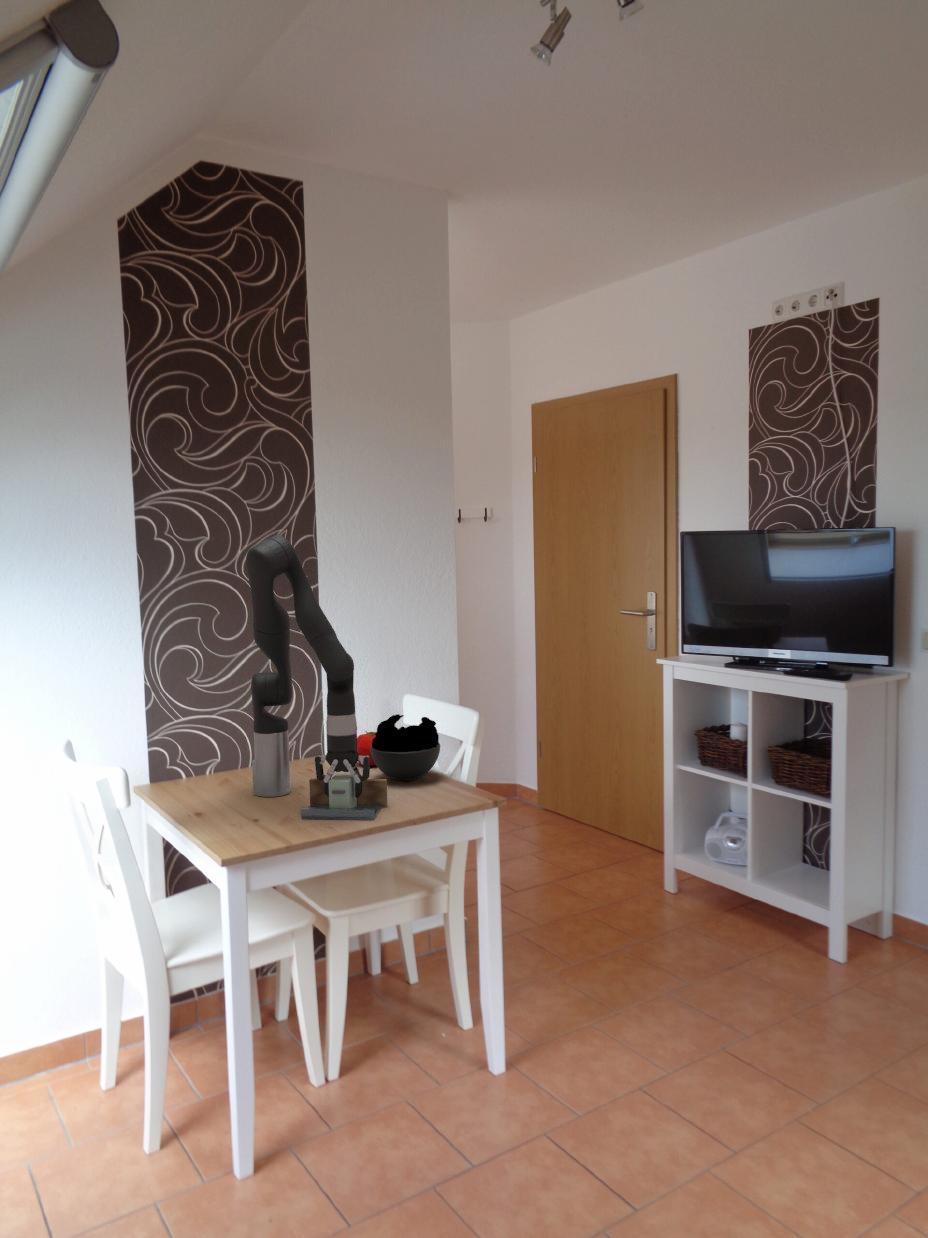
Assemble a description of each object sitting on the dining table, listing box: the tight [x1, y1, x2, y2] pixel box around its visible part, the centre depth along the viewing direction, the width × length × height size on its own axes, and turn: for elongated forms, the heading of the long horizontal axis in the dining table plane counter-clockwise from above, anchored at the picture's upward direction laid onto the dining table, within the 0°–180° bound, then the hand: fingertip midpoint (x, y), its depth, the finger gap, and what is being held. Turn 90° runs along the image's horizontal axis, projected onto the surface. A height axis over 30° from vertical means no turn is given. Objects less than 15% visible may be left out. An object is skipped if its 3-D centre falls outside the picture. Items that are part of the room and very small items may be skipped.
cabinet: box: [329, 773, 357, 808], centre depth 227 cm, size 5×9×8 cm, turn 173°
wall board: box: [308, 777, 388, 809], centre depth 233 cm, size 20×2×7 cm, turn 83°
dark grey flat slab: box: [300, 804, 383, 821], centre depth 227 cm, size 18×11×2 cm, turn 83°
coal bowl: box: [370, 713, 441, 782], centre depth 259 cm, size 20×20×19 cm
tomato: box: [357, 730, 377, 767], centre depth 279 cm, size 12×12×10 cm
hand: (343, 796), depth 228 cm, fingers open, 6 cm apart
